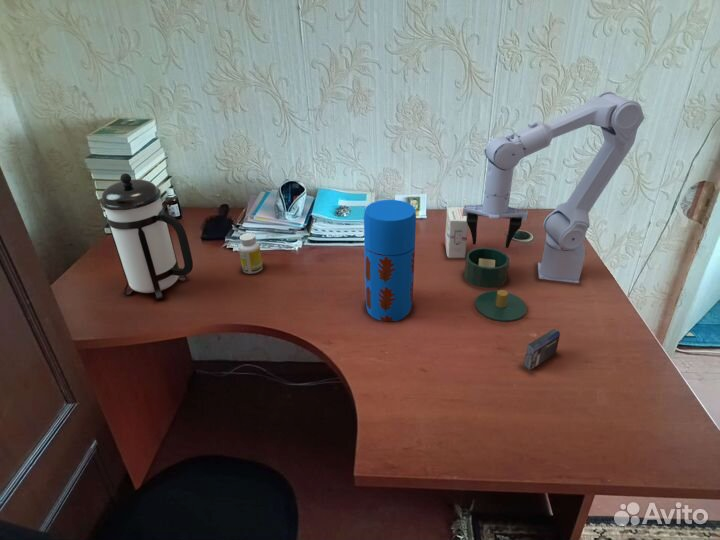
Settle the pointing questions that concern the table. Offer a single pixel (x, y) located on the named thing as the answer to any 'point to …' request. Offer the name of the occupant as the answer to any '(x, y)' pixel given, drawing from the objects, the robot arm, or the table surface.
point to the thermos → (389, 258)
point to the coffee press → (144, 236)
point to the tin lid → (500, 306)
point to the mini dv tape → (541, 349)
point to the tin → (486, 268)
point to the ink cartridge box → (456, 232)
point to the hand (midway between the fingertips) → (490, 244)
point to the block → (486, 263)
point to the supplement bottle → (250, 254)
